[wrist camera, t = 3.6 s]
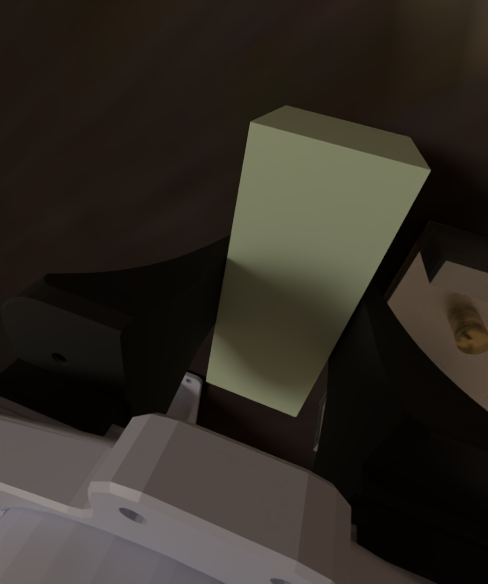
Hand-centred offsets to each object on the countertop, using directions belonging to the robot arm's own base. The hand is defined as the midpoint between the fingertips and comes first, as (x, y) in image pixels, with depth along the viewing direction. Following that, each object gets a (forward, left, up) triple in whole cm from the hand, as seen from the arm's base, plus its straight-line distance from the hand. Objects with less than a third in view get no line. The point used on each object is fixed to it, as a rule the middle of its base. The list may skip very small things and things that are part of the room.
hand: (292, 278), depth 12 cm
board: (0, 0, -2) cm, 2 cm away
